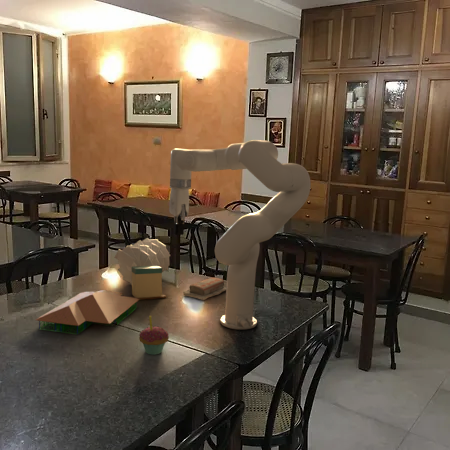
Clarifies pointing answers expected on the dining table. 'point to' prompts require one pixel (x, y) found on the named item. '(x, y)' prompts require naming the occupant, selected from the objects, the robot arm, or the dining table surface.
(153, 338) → the cupcake
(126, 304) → the house
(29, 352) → the dining table surface
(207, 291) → the packaged product
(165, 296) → the oak strip
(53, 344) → the dining table surface
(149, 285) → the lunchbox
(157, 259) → the spiral staircase
